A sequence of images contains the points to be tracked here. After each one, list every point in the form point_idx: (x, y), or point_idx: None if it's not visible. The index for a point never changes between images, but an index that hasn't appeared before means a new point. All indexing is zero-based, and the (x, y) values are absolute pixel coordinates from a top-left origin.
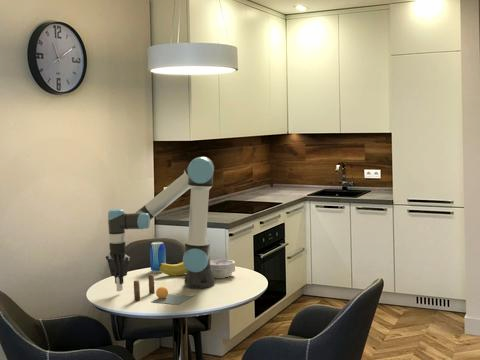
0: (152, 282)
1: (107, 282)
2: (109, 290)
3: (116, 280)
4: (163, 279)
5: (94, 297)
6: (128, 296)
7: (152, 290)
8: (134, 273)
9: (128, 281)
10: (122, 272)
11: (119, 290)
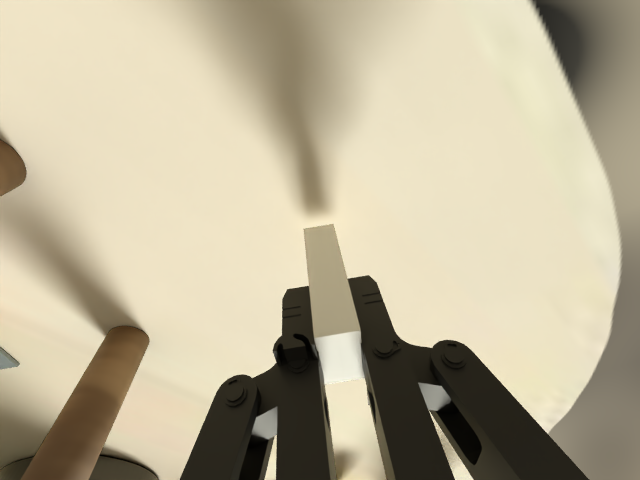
0: (56, 421)
1: (563, 357)
2: (468, 264)
3: (348, 300)
4: None
5: (498, 30)
6: (199, 217)
7: (95, 354)
8: None
9: None
10: (232, 451)
11: (304, 235)
